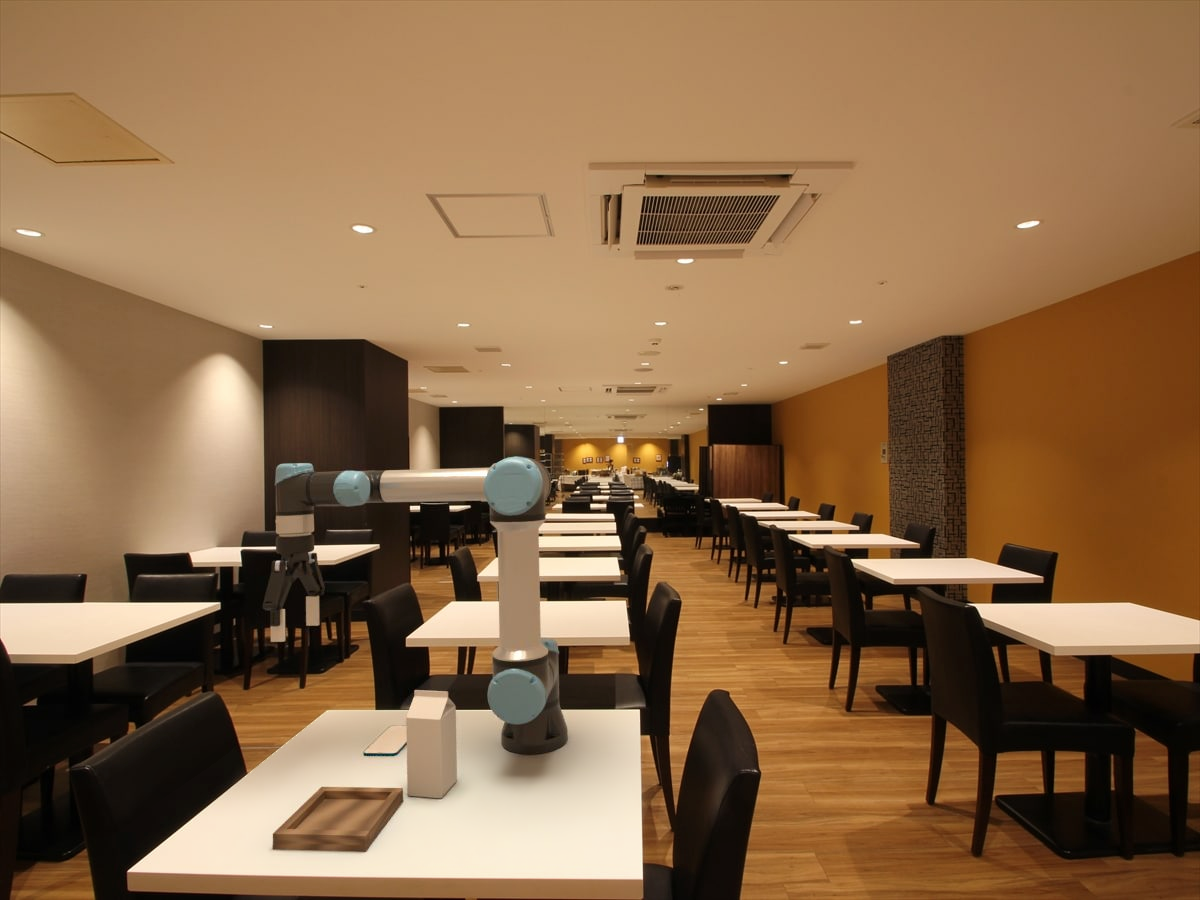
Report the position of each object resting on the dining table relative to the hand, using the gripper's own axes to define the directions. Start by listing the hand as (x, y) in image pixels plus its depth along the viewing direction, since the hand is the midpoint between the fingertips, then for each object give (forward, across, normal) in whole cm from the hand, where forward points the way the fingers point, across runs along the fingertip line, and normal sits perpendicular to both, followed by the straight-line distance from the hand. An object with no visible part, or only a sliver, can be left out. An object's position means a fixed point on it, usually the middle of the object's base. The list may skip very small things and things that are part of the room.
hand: (296, 633), depth 141 cm
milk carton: (+28, +10, +33) cm, 45 cm away
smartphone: (+29, -12, +16) cm, 35 cm away
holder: (+28, +22, +21) cm, 42 cm away
